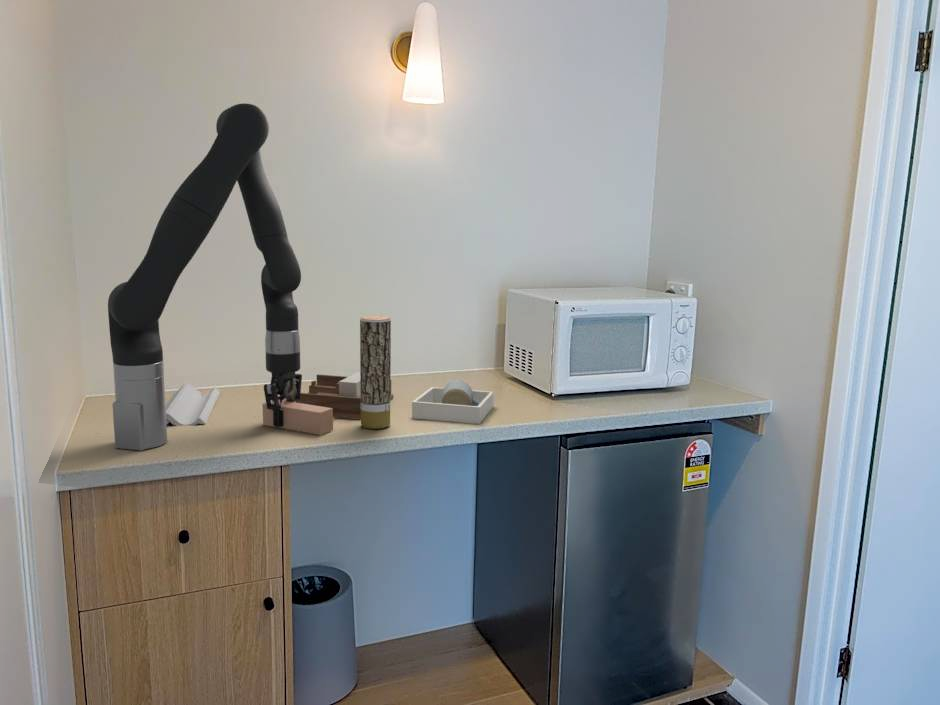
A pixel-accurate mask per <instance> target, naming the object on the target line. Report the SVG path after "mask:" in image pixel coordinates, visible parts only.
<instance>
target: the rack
mask: <svg viewBox="0 0 940 705" xmlns="http://www.w3.org/2000/svg"><path fill="white" fill-rule="evenodd" d="M347 377H348V376H345V375H344V376H341V375H329V374H316V380H312V381H311V384H310V385H308V392H306V393H305V392H301V393H300V399H299V400H297V402H296V403H302V404H309V405H315V406H321V407H328V408H333V418H342V419H354V420H361V406H360V402H361V401H360V398H359V397H346V396H339V381H341V380H343V379H345V378H347ZM279 396H280V397H281V396H282V395H279ZM393 399H394V394H392V393H391V400H393Z"/></svg>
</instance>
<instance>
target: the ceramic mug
mask: <svg viewBox="0 0 940 705" xmlns="http://www.w3.org/2000/svg"><path fill="white" fill-rule="evenodd" d="M443 388H444V389H443V394H442V400H441V401H442V403H443V404H455V405H467V406H471V405H472V406H478V405H479V404H480V403H478V402H477V401H475V400H473V392H472V390H473V389H472V386H470V384H468V383H467V382H466V381H464V380H461V379H453V380H450V381H449V382H447V383H445V385H444V387H443Z"/></svg>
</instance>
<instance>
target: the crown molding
mask: <svg viewBox="0 0 940 705" xmlns="http://www.w3.org/2000/svg"><path fill="white" fill-rule="evenodd" d="M201 392H202V391H199V390H198V389H196V387H194V386H193V385H192V384H191V383H190V382H185V383H184V384H183V385H182V386H181V387H180V388H179V389H177V391H176V392H174V393H173V394H172V396H171V397H172V398H171V397H170V399H169V400H168V401H167V403H166V404H167V405H166V404H165V407H166V425H168V424H169V423H171V425H173V426H175V425H186V426H197V425H198V424H199V425H205V424H207V421H208V419H209V417H210V415H211V413H212V412H213V409H214V406H215V404H216V402H217V400H218V398H219V396H220V394H221V391H220V389H219V388H218V387H216V386H214V387H213V388H212V389H211V390H209V391H206V392H207V393H206V392H205V393H206V394H205V395H204V396H203V397H202V396H201Z"/></svg>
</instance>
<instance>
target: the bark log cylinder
mask: <svg viewBox="0 0 940 705" xmlns="http://www.w3.org/2000/svg"><path fill="white" fill-rule="evenodd" d="M391 325H392V321H391V317H390V316H385V315H384V316H383V315H371V316H370V315H368V316H367V315H365V316H361V317H360V319H359V340H360V341H359V345H360V346H359V347H360V348H359V350H360V351H359V354H360V355H359V357H360V358H359V363H360V366H359V367H360V368H359V369H360V370H359V371H360V401H361V402H360V406H361V419H360V425H361V426H362V428H365V429H370V430H381V429H386V428H388V427H389V426H390V424H391V394H392V379H391V375H392V374H391V372H392V371H391V369H392V368H391V363H392V357H391V354H392V350H391V348H392V347H391V346H392V344H391V343H392V336H391V335H392V334H391V333H392V332H391V330H392V326H391Z"/></svg>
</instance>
